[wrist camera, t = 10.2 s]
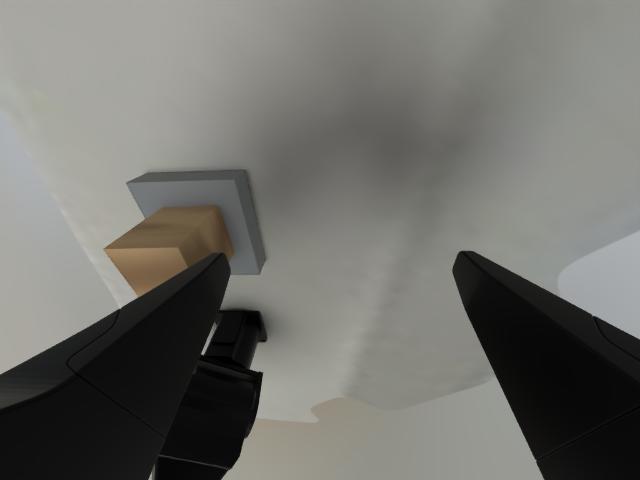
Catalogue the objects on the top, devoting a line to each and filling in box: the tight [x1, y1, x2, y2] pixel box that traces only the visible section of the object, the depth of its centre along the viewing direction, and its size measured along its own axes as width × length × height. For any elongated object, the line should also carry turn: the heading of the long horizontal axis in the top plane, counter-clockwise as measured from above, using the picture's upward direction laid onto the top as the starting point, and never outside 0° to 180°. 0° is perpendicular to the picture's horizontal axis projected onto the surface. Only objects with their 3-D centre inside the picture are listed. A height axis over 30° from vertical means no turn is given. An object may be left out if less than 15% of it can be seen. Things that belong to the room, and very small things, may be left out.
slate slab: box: [126, 170, 266, 275], centre depth 22 cm, size 10×9×3 cm
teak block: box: [103, 205, 235, 297], centre depth 18 cm, size 5×5×6 cm
